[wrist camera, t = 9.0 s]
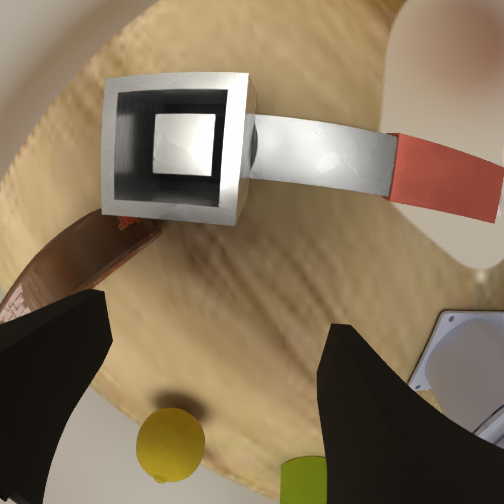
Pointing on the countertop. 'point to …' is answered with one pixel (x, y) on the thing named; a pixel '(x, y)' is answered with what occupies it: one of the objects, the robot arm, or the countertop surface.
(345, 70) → the countertop surface
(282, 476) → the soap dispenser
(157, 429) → the lemon
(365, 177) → the ratchet
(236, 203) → the socket
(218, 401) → the countertop surface
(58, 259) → the tin
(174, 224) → the countertop surface
